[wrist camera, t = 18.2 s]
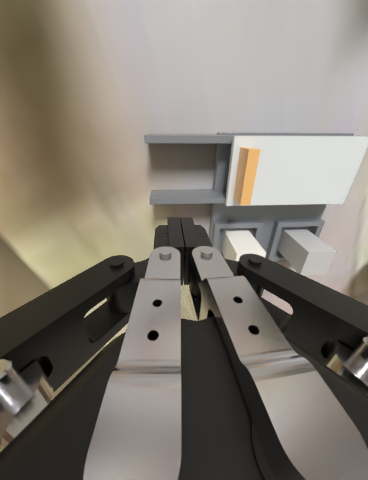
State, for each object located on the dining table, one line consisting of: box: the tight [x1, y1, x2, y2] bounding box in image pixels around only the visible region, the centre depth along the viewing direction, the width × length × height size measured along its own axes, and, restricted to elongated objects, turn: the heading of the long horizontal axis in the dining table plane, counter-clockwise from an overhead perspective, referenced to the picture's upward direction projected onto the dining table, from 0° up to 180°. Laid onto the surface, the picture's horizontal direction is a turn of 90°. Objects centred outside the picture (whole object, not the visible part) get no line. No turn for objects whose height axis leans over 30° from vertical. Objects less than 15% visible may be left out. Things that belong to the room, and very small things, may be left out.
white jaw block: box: [221, 229, 266, 261], centre depth 30 cm, size 4×4×7 cm
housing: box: [144, 133, 353, 275], centre depth 28 cm, size 27×20×8 cm
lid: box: [225, 136, 368, 206], centre depth 24 cm, size 16×8×4 cm, turn 90°
